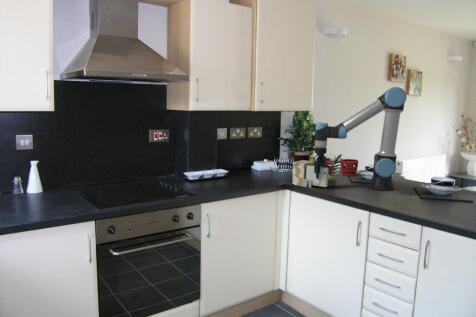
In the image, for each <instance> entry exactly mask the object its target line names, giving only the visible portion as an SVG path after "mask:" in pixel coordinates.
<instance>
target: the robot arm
mask: <svg viewBox="0 0 476 317" xmlns="http://www.w3.org/2000/svg"><path fill="white" fill-rule="evenodd" d="M406 100H407V93H406V91H405V89H403V88H401V87H399V86H393V87H390V88H388V89H387V90H386V91H385V92H383V94H381V95H380V96H378V97H377V98H376V100H375V101H373V102H372V103H371V104H368V105H367V106H365V107H364V108H362V109H361V110H359V111H357V112H356V113H354V114H353V115H351V116H350V117H348V118H347V119H345V120H343V121H342V122H340V123H339V124H337V125H335V126H330V125H329V124H328V122H318V123H316V125H315V131H314V132H315V134H314V136H315V138H314V153H315V154H316V156H315V157H314V158H313V161H314V173H316V182H315V183H317V184H320V167H326V159H327V156H325V155H326V154H327V146H328V139H336V140H337V139H340V140H342V139H343V140H344V139H347V137H348V133H349V132H351V131H352V130H354V129H355V128H357V127H359V126H361V124H363V123H365V122H367V121H369V120H370V119H371V118H373V117H375V116H377V115H378V114H380V113H382V112H384V116H383V125H382V131H381V132H382V133H381V138H380V147H379V151H378V152H376V153H375V154H374V156H373V171H372V177H371V180H370V182H369V189H371V190H376V191H381V192H382V191H384V192H388V191H394V190H395V185H394V181H393V180H394V179H393V175H394V174H395V172H396V170H397V165H396V164H397V158H398V155H397V154H396V153H395V152H396V146H397V145H396V144H397V139H398V138H397V137H398V131H399V124H400V119H401V113H403V112H404V108H405V102H406Z"/></svg>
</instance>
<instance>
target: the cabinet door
mask: <svg viewBox="0 0 476 317" xmlns="http://www.w3.org/2000/svg"><path fill="white" fill-rule="evenodd" d="M306 179H308V183H307V184H309V180H312V185H315V187H316V186H317V187H322V188H323V187H324V188H327V187H328V185H329V184H328V183H329V167H326V166H325V167H320V184H317V183H315V182H316V173H314V166H309V165H308V166H307V169H306Z"/></svg>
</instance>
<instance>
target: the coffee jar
mask: <svg viewBox="0 0 476 317" xmlns="http://www.w3.org/2000/svg"><path fill="white" fill-rule="evenodd" d="M309 155H310V153H309V152H298V151H297V152H294V158H293V159H294V162H297V161H302V160H306V161H310V156H309Z"/></svg>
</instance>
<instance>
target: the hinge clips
mask: <svg viewBox="0 0 476 317" xmlns="http://www.w3.org/2000/svg"><path fill="white" fill-rule="evenodd" d="M307 183H308V179H306V177H303V183H302V186H301V187H303V188H304V187H305V188H307V187H308V188H312V187H316V185H312V180H309V184H307Z"/></svg>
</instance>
